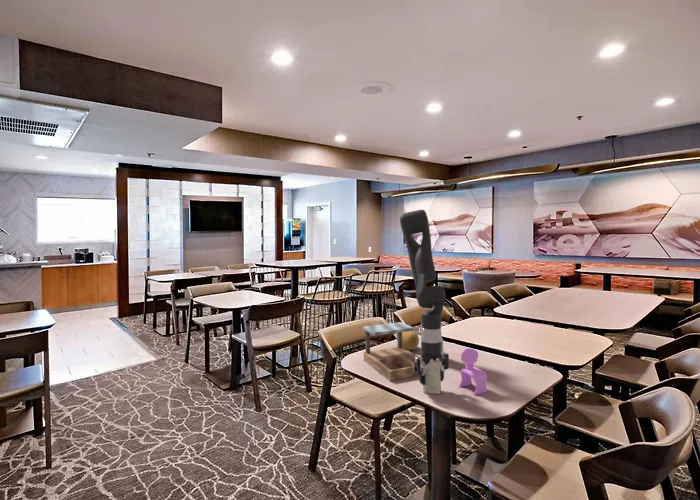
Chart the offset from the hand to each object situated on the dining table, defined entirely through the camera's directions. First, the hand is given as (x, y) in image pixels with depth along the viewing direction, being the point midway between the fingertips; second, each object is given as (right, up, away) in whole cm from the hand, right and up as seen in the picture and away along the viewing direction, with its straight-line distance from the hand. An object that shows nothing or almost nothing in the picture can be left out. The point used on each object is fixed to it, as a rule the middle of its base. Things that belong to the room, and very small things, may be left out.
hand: (431, 382), depth 139 cm
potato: (-1, -1, +51) cm, 51 cm away
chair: (+16, -3, +1) cm, 16 cm away
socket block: (-10, -2, +26) cm, 28 cm away
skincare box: (0, -4, 0) cm, 4 cm away
